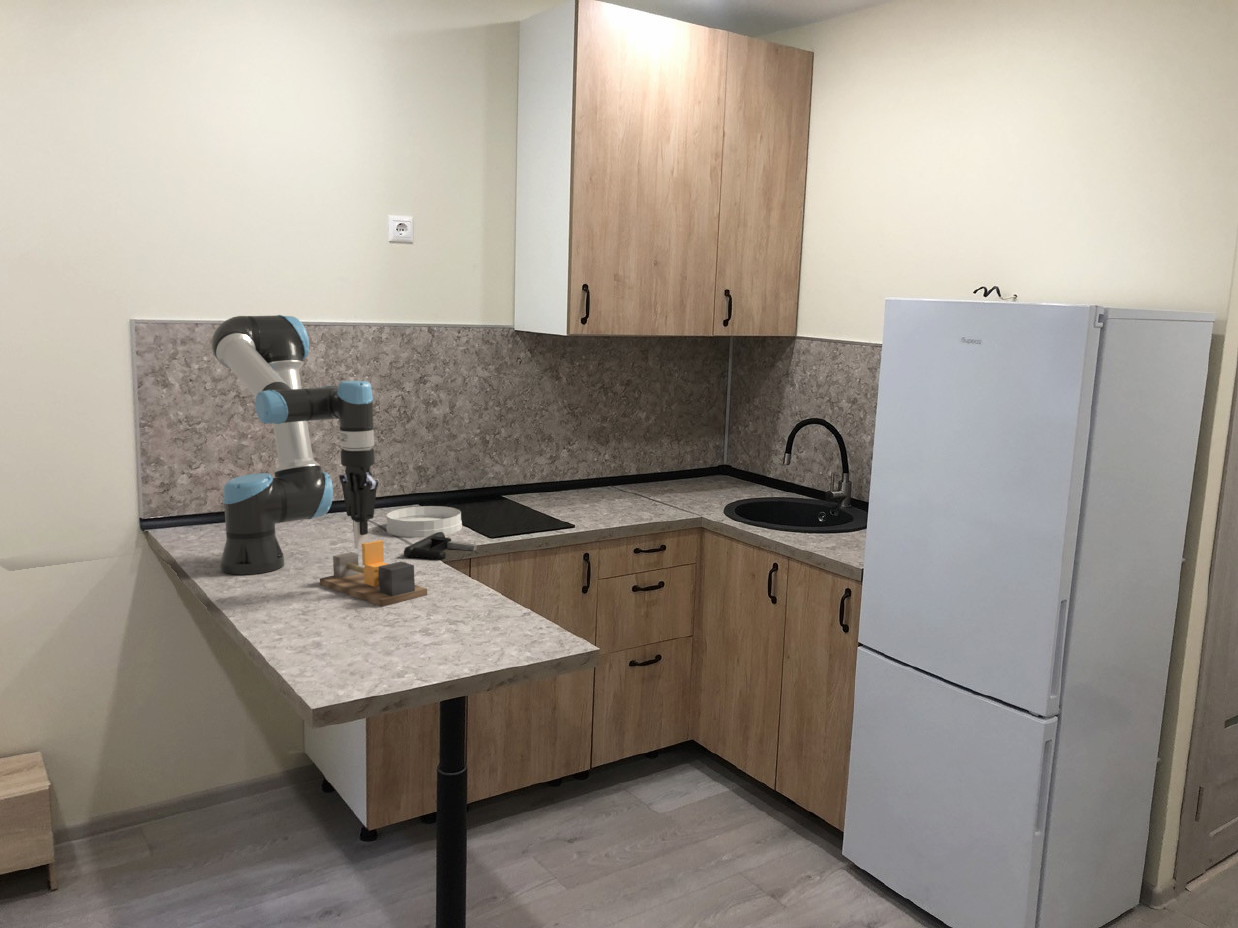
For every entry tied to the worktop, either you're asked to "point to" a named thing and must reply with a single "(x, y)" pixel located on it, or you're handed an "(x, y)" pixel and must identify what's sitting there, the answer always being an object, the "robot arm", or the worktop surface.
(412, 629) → the worktop surface
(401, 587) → the rail
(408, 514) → the dish
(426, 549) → the door handle
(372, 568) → the orange sliding rod block
